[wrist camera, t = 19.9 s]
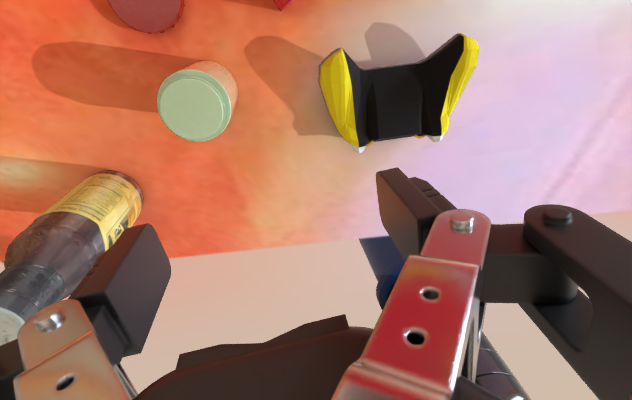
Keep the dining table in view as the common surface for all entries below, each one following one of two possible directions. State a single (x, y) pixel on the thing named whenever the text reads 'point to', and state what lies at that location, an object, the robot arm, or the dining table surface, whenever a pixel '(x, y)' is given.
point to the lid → (148, 13)
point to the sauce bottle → (64, 246)
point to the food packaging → (283, 3)
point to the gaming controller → (397, 94)
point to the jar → (198, 101)
